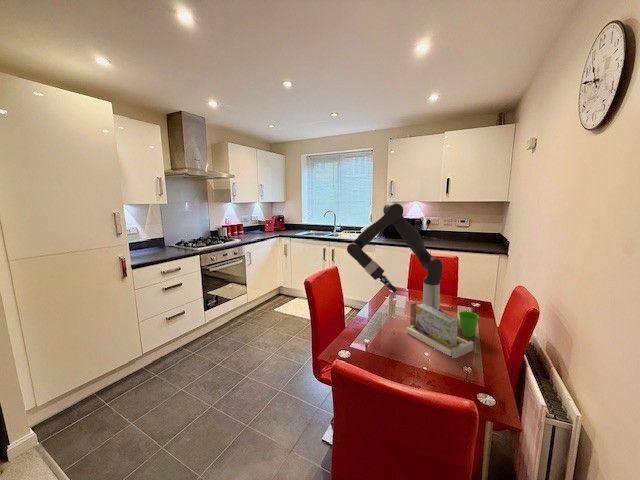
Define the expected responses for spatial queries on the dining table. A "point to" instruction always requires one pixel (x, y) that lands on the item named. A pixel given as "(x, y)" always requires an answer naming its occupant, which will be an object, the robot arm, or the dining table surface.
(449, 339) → the snack box
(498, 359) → the dining table surface
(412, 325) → the pull frame
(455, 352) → the frame
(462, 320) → the cup
